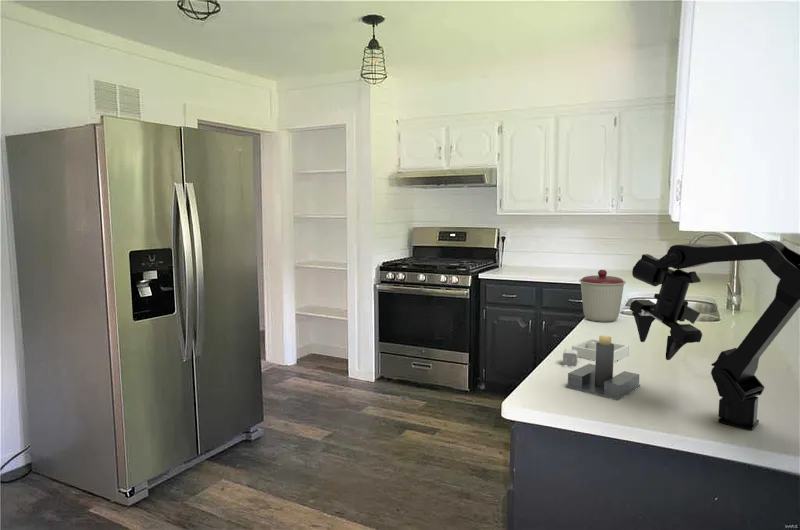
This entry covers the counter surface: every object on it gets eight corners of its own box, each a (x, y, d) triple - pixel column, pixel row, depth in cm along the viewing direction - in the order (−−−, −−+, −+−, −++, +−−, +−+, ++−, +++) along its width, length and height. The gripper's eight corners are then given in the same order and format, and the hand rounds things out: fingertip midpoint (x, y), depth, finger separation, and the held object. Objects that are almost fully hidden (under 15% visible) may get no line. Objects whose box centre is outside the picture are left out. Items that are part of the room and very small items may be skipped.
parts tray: (628, 355, 173) (629, 345, 173) (611, 363, 164) (611, 353, 164) (590, 348, 183) (590, 338, 182) (571, 355, 174) (571, 346, 173)
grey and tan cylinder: (616, 386, 143) (618, 338, 141) (602, 388, 141) (604, 339, 140) (604, 381, 147) (606, 334, 145) (591, 383, 145) (592, 335, 144)
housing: (640, 386, 144) (640, 373, 144) (617, 400, 134) (618, 386, 134) (590, 375, 154) (590, 362, 154) (565, 387, 144) (566, 374, 144)
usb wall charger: (577, 362, 166) (577, 350, 166) (576, 369, 160) (576, 356, 159) (563, 361, 168) (564, 348, 167) (562, 367, 161) (562, 354, 161)
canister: (592, 313, 239) (594, 266, 237) (632, 320, 225) (634, 269, 223) (569, 319, 228) (570, 269, 226) (609, 326, 214) (611, 273, 212)
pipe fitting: (605, 353, 179) (585, 351, 179) (606, 341, 178) (586, 340, 178) (615, 360, 171) (594, 358, 171) (616, 348, 170) (595, 346, 170)
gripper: (729, 309, 125) (708, 368, 131) (671, 279, 142) (654, 332, 147) (691, 310, 122) (671, 370, 127) (636, 279, 139) (620, 333, 144)
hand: (654, 350), depth 137 cm, fingers open, 9 cm apart
